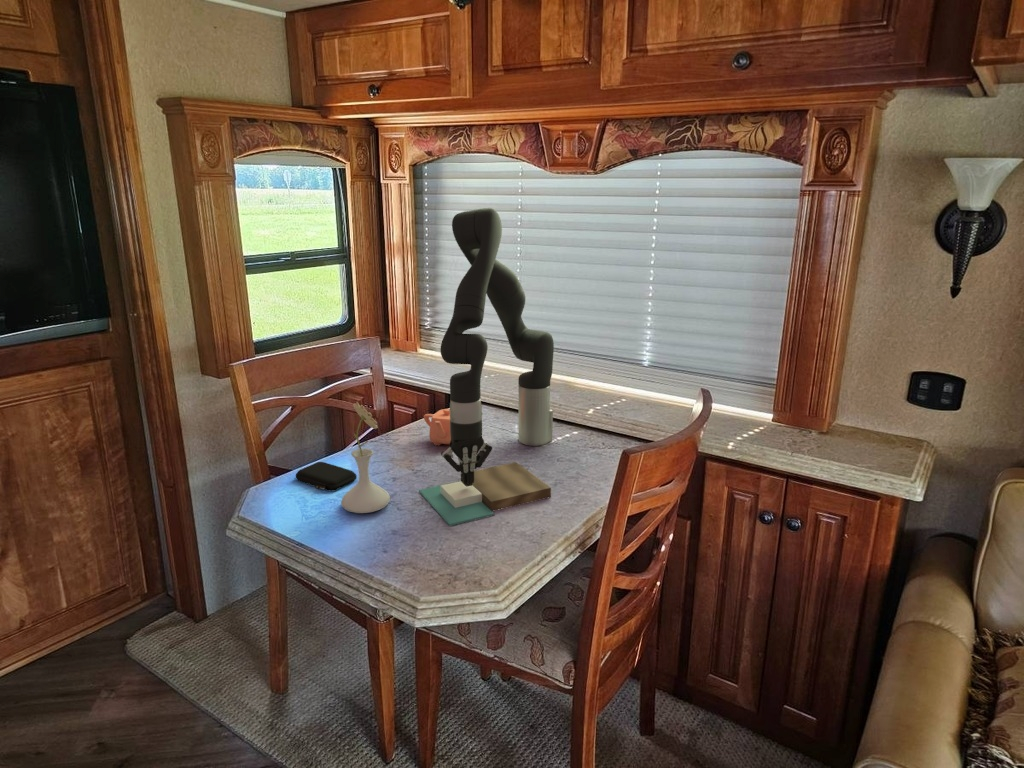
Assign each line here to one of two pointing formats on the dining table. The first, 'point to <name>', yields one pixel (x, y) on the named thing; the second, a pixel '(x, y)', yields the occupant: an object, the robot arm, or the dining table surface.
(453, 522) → the mat
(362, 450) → the flower in vase
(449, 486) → the tile
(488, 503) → the brown wooden board
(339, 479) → the carrying case or bag
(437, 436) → the teapot
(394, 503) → the dining table surface
